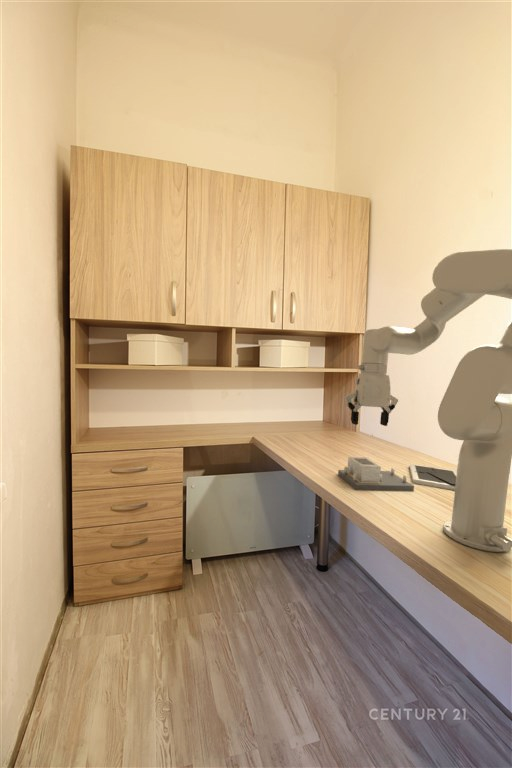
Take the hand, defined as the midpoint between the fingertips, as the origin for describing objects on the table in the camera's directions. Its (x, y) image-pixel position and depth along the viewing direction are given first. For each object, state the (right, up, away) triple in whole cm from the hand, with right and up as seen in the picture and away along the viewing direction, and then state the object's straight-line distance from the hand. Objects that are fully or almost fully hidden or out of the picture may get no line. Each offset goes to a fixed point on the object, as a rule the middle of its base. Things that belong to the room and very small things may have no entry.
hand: (369, 424), depth 109 cm
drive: (-2, -17, +1) cm, 17 cm away
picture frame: (+26, -21, +11) cm, 35 cm away
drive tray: (+2, -19, +2) cm, 19 cm away
